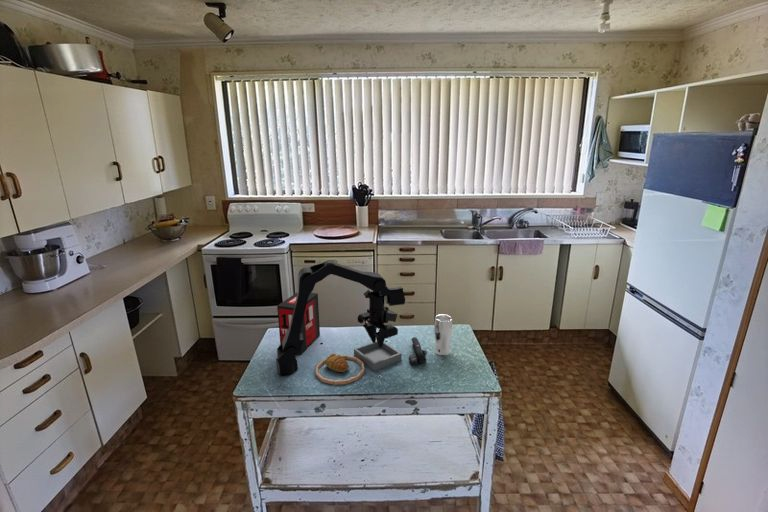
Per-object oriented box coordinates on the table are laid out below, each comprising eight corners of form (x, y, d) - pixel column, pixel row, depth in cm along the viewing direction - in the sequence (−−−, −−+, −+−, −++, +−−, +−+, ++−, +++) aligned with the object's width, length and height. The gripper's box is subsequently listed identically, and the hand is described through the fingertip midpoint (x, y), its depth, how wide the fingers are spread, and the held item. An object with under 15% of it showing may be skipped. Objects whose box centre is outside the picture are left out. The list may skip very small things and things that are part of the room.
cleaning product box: (301, 334, 171) (298, 291, 166) (320, 336, 168) (317, 293, 163) (281, 352, 156) (277, 305, 150) (300, 355, 153) (297, 308, 148)
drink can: (454, 355, 153) (456, 319, 149) (438, 358, 150) (440, 322, 146) (445, 347, 159) (446, 313, 155) (430, 350, 157) (431, 315, 153)
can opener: (428, 367, 145) (428, 353, 143) (409, 367, 145) (409, 354, 143) (423, 344, 162) (423, 331, 160) (406, 344, 162) (406, 332, 160)
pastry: (353, 368, 143) (353, 359, 143) (339, 375, 139) (339, 366, 138) (336, 359, 150) (336, 350, 149) (323, 366, 145) (322, 356, 144)
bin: (374, 371, 142) (374, 364, 141) (354, 355, 153) (353, 348, 152) (401, 360, 149) (401, 353, 148) (380, 346, 160) (380, 339, 159)
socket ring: (330, 390, 131) (330, 387, 131) (308, 367, 145) (307, 364, 144) (373, 373, 141) (373, 370, 141) (348, 353, 154) (348, 350, 154)
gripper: (409, 309, 143) (409, 348, 147) (379, 295, 157) (380, 330, 161) (385, 317, 136) (385, 357, 140) (356, 301, 151) (357, 337, 155)
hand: (377, 344), depth 149 cm, fingers open, 4 cm apart
